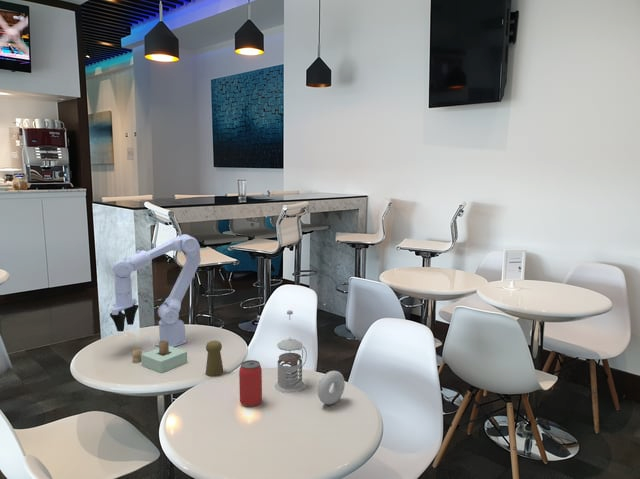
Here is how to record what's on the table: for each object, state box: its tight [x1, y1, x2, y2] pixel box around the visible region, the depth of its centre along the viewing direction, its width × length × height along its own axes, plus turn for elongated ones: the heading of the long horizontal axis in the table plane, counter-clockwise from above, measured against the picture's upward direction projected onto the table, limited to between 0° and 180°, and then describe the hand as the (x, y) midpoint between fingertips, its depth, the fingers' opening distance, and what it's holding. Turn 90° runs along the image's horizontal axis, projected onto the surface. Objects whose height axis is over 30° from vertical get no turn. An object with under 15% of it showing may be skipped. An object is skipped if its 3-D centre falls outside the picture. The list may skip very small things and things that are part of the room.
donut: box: [317, 370, 346, 406], centre depth 137 cm, size 10×3×10 cm, turn 134°
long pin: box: [158, 340, 169, 356], centre depth 165 cm, size 3×3×8 cm
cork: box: [205, 340, 224, 378], centre depth 158 cm, size 6×6×11 cm
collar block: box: [140, 346, 188, 374], centre depth 165 cm, size 11×11×4 cm
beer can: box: [238, 359, 263, 408], centre depth 138 cm, size 7×7×12 cm
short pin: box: [131, 348, 143, 364], centre depth 168 cm, size 3×3×4 cm
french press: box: [274, 309, 308, 394], centre depth 148 cm, size 10×12×25 cm
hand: (125, 327), depth 175 cm, fingers open, 7 cm apart
